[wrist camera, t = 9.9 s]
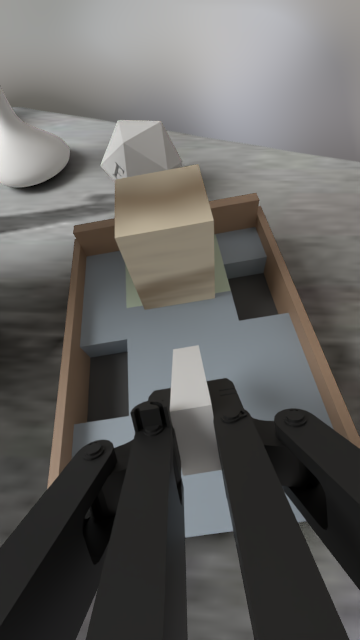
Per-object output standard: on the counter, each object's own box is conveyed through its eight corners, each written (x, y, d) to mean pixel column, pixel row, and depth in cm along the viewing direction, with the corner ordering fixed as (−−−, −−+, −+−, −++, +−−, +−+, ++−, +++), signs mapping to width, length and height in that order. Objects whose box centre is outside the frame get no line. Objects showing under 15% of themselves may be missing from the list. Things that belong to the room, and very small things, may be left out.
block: (215, 298, 23) (213, 220, 16) (144, 309, 24) (114, 237, 17) (203, 247, 26) (198, 164, 20) (141, 258, 27) (115, 179, 20)
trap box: (357, 508, 17) (410, 517, 12) (73, 546, 18) (22, 568, 13) (255, 238, 30) (262, 191, 25) (90, 266, 30) (67, 226, 26)
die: (116, 184, 39) (72, 151, 30) (158, 131, 37) (124, 78, 27) (155, 225, 38) (122, 204, 29) (200, 173, 36) (180, 133, 26)
